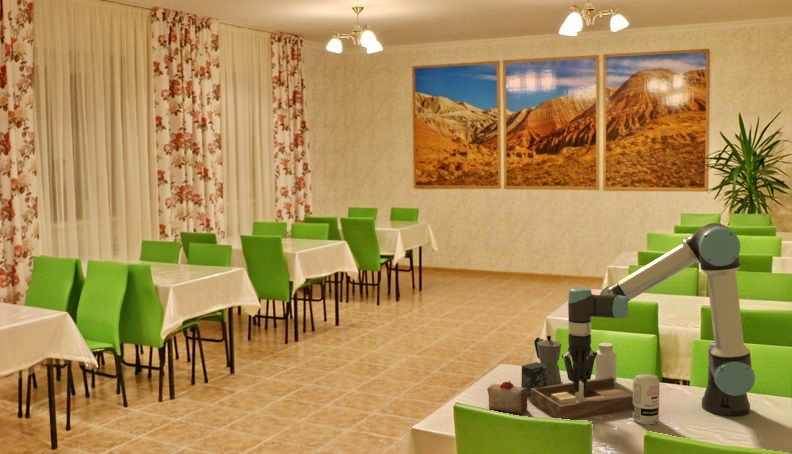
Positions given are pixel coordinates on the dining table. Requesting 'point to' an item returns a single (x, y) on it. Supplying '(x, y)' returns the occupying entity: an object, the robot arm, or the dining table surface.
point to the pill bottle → (606, 362)
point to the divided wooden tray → (596, 399)
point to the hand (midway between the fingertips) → (579, 400)
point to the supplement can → (646, 398)
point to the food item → (507, 398)
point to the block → (563, 398)
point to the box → (534, 376)
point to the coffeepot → (549, 358)
